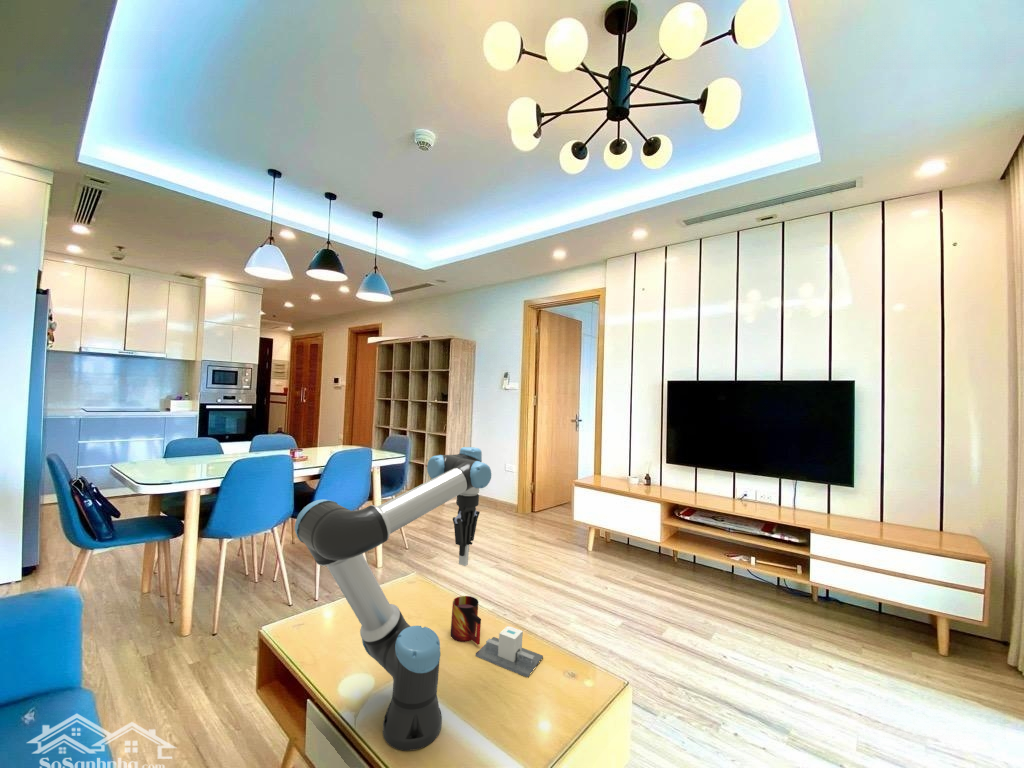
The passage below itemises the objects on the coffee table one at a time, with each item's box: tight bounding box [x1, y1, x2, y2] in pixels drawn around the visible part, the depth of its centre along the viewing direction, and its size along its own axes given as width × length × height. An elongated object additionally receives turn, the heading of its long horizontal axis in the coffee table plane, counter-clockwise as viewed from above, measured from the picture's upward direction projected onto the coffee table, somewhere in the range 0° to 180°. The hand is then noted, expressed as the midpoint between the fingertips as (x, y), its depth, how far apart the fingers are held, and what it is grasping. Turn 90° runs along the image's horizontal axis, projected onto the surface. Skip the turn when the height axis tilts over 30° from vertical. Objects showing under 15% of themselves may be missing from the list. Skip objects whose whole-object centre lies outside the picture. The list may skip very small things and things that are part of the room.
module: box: [498, 625, 524, 662], centre depth 141 cm, size 6×6×8 cm
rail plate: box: [475, 636, 544, 678], centre depth 141 cm, size 12×20×3 cm, turn 62°
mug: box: [450, 595, 482, 646], centre depth 153 cm, size 10×14×12 cm
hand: (463, 564), depth 138 cm, fingers closed
